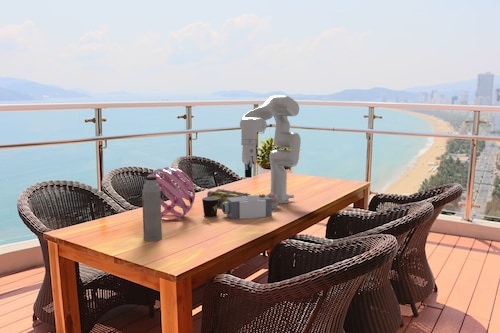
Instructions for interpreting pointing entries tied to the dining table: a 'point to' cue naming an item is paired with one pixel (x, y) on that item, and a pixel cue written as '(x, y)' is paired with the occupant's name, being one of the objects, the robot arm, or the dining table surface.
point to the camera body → (233, 202)
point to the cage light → (225, 195)
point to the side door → (252, 208)
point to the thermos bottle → (151, 210)
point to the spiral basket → (175, 191)
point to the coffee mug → (210, 206)
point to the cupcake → (273, 200)
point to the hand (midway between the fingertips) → (248, 177)
